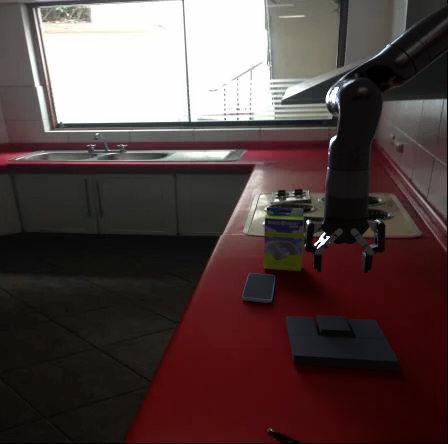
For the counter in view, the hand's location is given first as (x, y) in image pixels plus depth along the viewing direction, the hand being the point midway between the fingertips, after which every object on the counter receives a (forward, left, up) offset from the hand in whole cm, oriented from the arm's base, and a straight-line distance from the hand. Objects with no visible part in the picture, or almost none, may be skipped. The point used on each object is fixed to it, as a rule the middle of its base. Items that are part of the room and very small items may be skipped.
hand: (341, 271), depth 82 cm
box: (+8, -33, -15) cm, 37 cm away
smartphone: (+15, -19, -14) cm, 28 cm away
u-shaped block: (+1, +4, -14) cm, 15 cm away
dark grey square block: (+1, +1, -14) cm, 14 cm away
